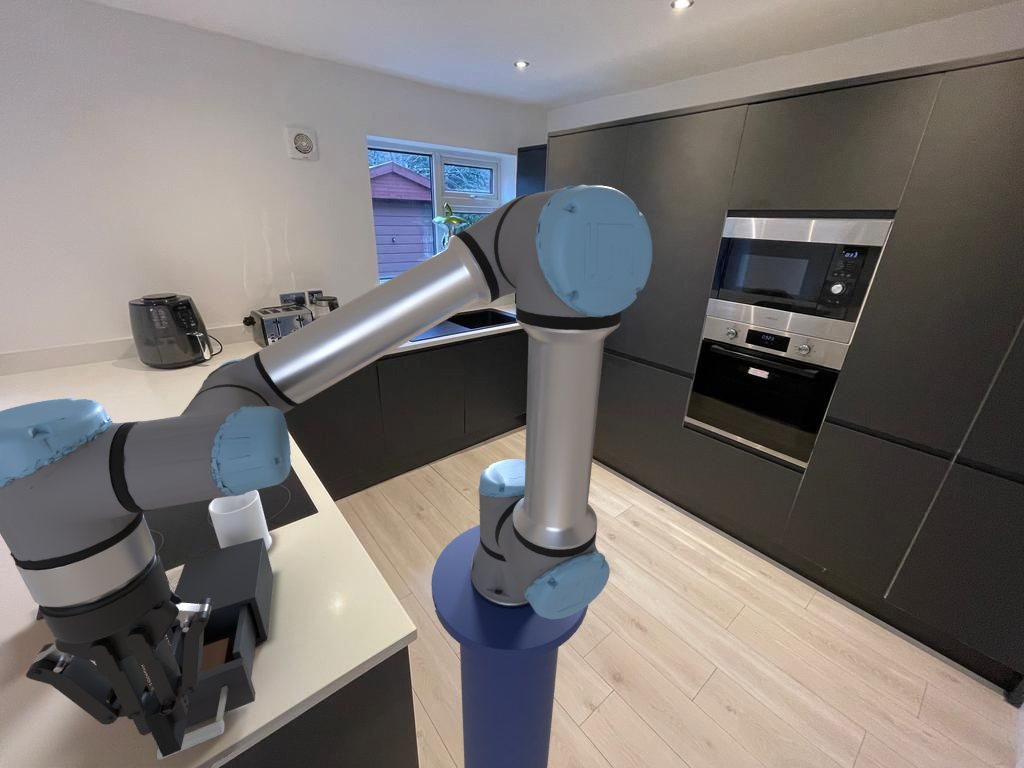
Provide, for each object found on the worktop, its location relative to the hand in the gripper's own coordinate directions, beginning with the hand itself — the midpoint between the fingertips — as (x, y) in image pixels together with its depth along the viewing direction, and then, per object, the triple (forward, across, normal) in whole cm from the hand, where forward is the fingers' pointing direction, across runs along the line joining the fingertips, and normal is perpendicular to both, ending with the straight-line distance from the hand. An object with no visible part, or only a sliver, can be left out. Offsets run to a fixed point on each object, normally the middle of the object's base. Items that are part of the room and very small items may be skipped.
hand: (175, 739), depth 43 cm
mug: (+9, -1, -42) cm, 43 cm away
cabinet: (+9, 0, -24) cm, 26 cm away
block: (+7, 0, -12) cm, 14 cm away
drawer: (+8, 0, -10) cm, 13 cm away
